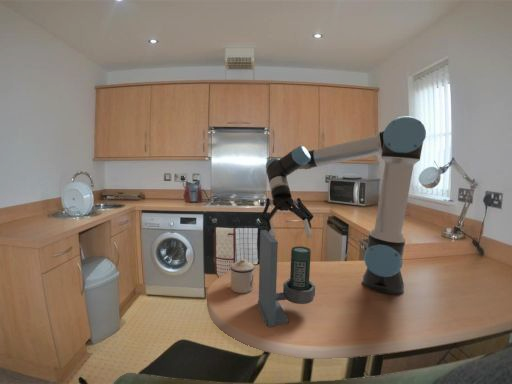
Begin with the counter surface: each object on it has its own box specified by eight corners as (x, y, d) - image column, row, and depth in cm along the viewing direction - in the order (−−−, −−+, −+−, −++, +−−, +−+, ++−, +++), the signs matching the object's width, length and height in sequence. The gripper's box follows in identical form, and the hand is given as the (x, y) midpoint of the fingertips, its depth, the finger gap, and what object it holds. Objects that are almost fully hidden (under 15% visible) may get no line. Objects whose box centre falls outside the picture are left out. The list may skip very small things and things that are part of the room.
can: (309, 290, 90) (311, 247, 88) (307, 299, 84) (310, 253, 83) (291, 287, 91) (292, 245, 90) (288, 296, 86) (290, 251, 84)
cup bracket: (303, 298, 96) (306, 228, 93) (320, 321, 82) (325, 240, 80) (257, 302, 92) (258, 230, 90) (266, 327, 79) (269, 242, 76)
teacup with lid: (255, 293, 99) (256, 263, 98) (231, 295, 98) (232, 264, 96) (250, 279, 111) (250, 252, 110) (228, 280, 109) (228, 253, 108)
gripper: (306, 195, 112) (320, 240, 99) (248, 196, 107) (255, 243, 94) (312, 184, 107) (327, 230, 94) (251, 184, 101) (259, 232, 88)
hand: (291, 237), depth 94 cm, fingers open, 13 cm apart
